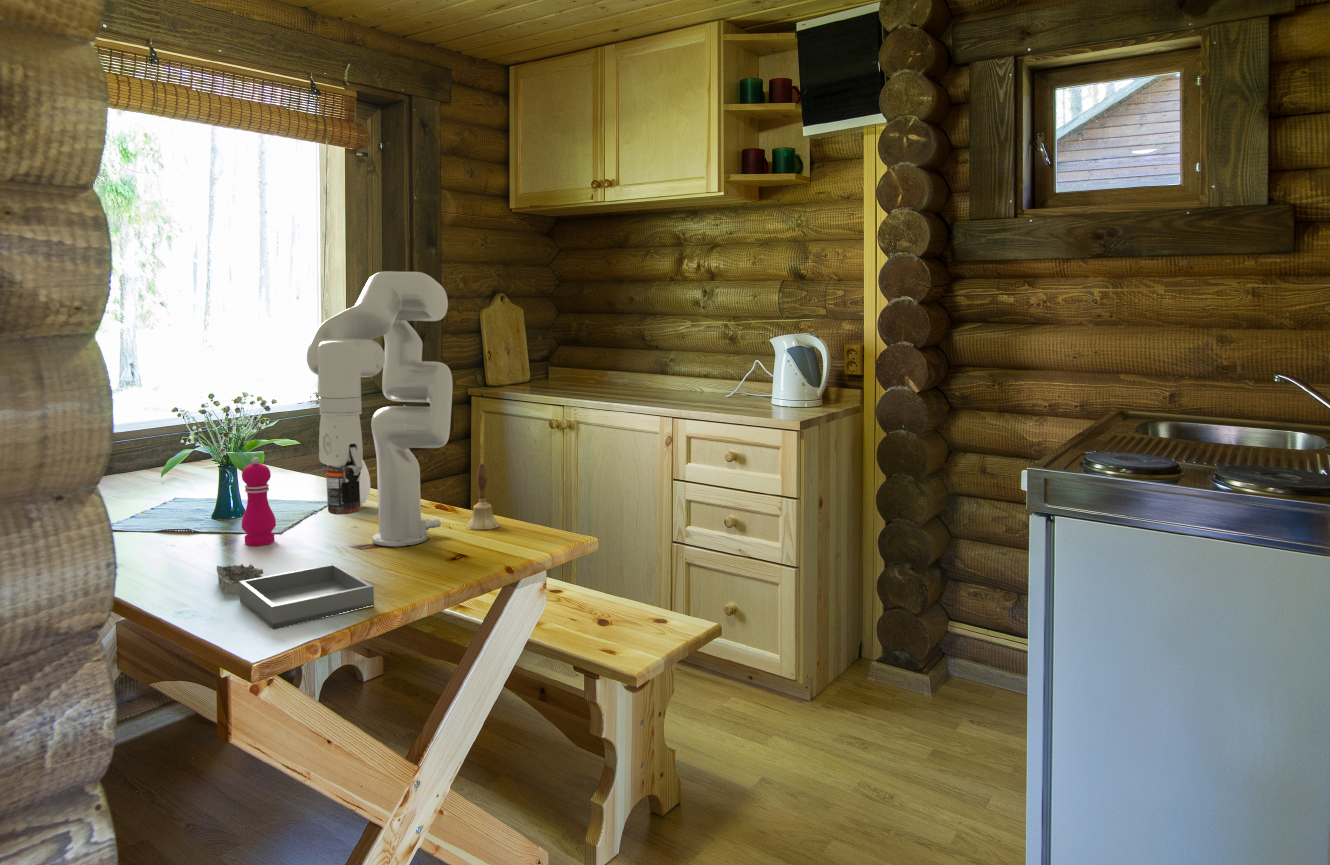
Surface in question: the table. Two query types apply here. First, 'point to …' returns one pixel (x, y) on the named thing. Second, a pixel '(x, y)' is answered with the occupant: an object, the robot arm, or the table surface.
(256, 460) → the pepper mill
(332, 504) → the supplement bottle
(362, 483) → the air blower bulb
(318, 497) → the table surface
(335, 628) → the table surface
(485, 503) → the hand bell
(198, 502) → the table surface
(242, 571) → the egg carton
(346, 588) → the tray
